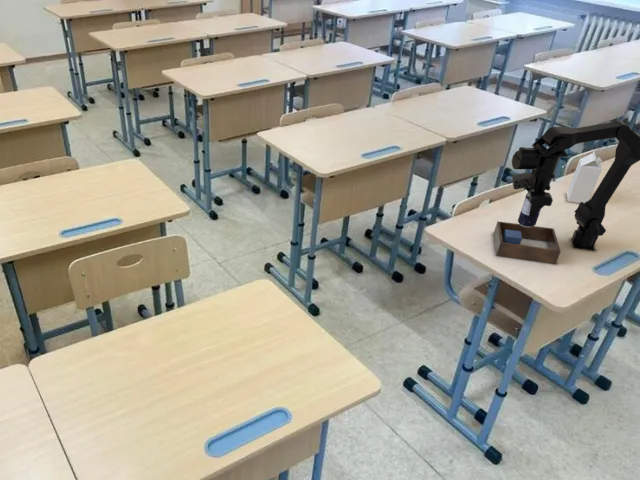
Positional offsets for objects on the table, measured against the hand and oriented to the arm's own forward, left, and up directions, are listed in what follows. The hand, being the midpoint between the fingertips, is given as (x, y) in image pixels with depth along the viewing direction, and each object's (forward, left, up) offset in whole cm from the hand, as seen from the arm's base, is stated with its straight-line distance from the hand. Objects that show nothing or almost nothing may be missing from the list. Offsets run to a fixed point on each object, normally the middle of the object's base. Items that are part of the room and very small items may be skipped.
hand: (529, 212), depth 185 cm
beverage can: (0, 0, -5) cm, 5 cm away
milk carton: (-26, -44, -13) cm, 53 cm away
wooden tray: (-2, +1, -13) cm, 13 cm away
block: (+3, +1, -13) cm, 14 cm away
